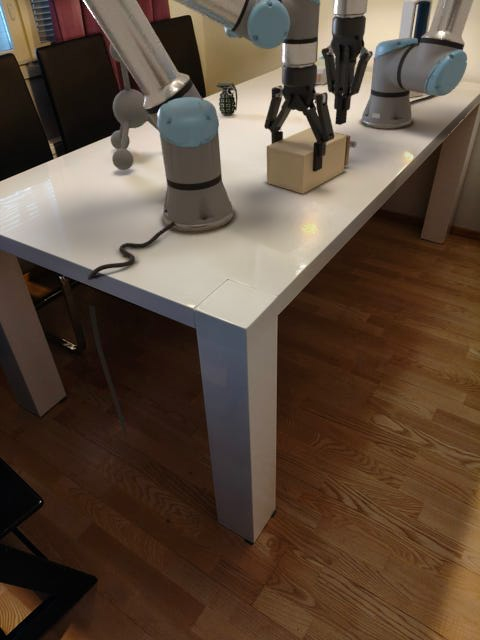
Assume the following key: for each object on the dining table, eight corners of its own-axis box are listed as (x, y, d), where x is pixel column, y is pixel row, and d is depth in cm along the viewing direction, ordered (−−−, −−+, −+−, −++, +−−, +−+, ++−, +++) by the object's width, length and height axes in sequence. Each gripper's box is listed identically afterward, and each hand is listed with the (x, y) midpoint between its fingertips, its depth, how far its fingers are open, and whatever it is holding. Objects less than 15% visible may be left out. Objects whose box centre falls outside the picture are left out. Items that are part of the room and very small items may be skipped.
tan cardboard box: (308, 162, 130) (309, 127, 125) (343, 171, 124) (346, 135, 119) (266, 183, 121) (266, 146, 115) (302, 193, 115) (304, 155, 109)
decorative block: (312, 54, 215) (354, 57, 206) (311, 70, 219) (352, 74, 210) (281, 65, 199) (325, 69, 190) (281, 83, 203) (324, 87, 194)
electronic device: (393, 99, 175) (406, 0, 157) (383, 94, 181) (394, -2, 162) (424, 95, 177) (441, -3, 159) (413, 90, 183) (428, -5, 165)
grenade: (217, 117, 168) (214, 86, 162) (221, 112, 172) (219, 82, 166) (235, 117, 166) (233, 86, 160) (239, 113, 171) (238, 82, 165)
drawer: (329, 150, 135) (331, 123, 130) (360, 157, 129) (363, 129, 125) (278, 175, 122) (278, 145, 118) (310, 184, 117) (312, 154, 112)
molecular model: (196, 161, 135) (182, 37, 116) (116, 176, 129) (90, 48, 110) (173, 138, 152) (159, 27, 134) (102, 149, 146) (77, 35, 128)
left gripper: (356, 66, 100) (347, 170, 113) (268, 56, 113) (269, 150, 126) (335, 73, 96) (328, 180, 109) (247, 62, 109) (250, 159, 122)
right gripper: (383, 14, 109) (370, 123, 123) (334, 12, 116) (327, 115, 131) (365, 18, 105) (354, 131, 119) (316, 16, 112) (311, 122, 126)
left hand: (297, 164), depth 118 cm, fingers closed on tan cardboard box, 11 cm apart
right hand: (340, 123), depth 125 cm, fingers closed
